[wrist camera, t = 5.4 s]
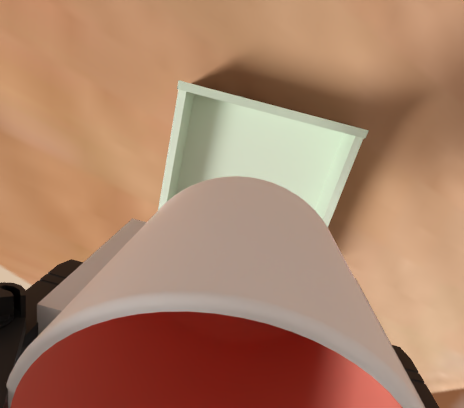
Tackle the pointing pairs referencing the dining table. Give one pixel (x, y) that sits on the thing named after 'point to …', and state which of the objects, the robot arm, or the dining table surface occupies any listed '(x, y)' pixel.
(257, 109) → the pale green square tray
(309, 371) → the cup
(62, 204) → the dining table surface
